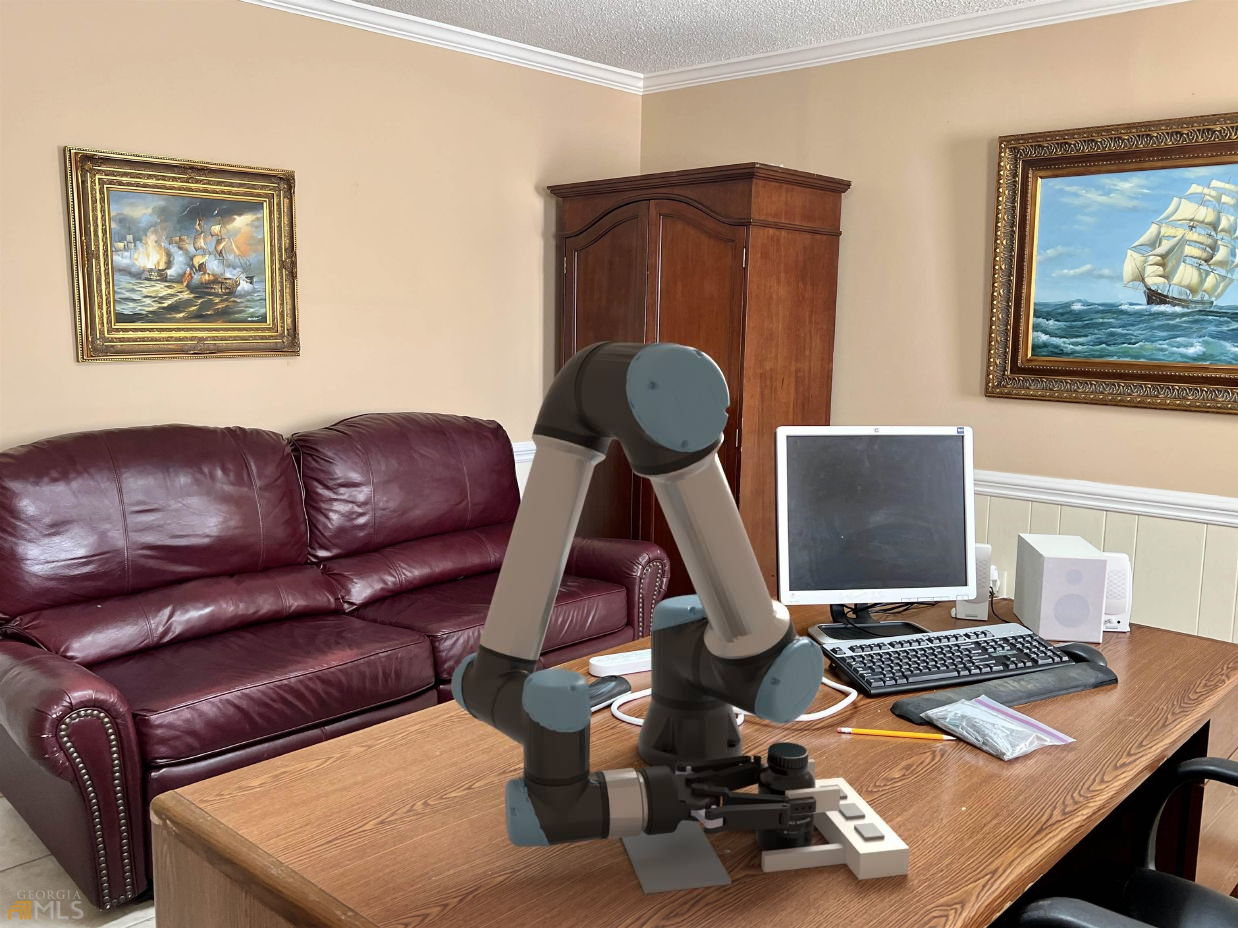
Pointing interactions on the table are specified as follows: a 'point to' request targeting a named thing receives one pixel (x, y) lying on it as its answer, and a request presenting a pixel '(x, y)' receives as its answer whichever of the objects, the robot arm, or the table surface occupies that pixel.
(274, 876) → the table surface
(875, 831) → the power strip dock
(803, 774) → the supplement bottle
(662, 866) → the rubber mat
